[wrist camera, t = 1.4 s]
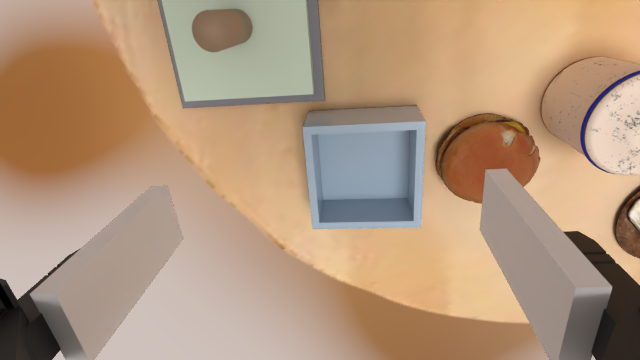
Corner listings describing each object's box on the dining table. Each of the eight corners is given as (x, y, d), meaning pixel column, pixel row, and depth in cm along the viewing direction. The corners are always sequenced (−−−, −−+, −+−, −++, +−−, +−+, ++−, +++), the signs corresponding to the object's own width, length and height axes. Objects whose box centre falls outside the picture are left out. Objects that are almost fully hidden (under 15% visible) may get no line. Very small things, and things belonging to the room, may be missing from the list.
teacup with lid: (549, 155, 41) (616, 207, 30) (526, 80, 38) (591, 110, 27) (674, 106, 38) (796, 146, 27) (659, 20, 34) (791, 28, 24)
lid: (156, -48, 35) (103, -62, 28) (301, -64, 34) (286, -82, 26) (189, 98, 41) (152, 119, 34) (314, 91, 40) (304, 111, 32)
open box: (309, 110, 41) (302, 127, 36) (416, 105, 40) (425, 121, 34) (317, 202, 46) (312, 229, 41) (413, 200, 45) (421, 227, 39)
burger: (434, 192, 44) (442, 212, 40) (436, 116, 40) (446, 129, 36) (521, 188, 43) (540, 208, 39) (532, 109, 39) (554, 121, 35)
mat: (146, -59, 36) (143, -60, 35) (312, -77, 34) (311, -78, 33) (185, 106, 42) (182, 108, 42) (325, 99, 40) (324, 100, 40)
